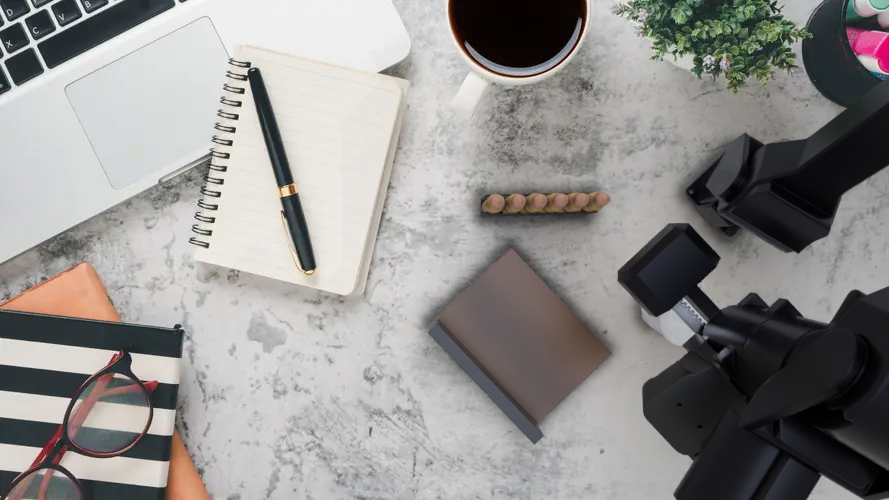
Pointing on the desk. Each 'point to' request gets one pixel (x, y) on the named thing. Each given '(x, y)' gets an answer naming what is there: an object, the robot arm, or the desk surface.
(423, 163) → the desk surface
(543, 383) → the walnut board
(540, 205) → the ammunition clip
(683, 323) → the milkshake
